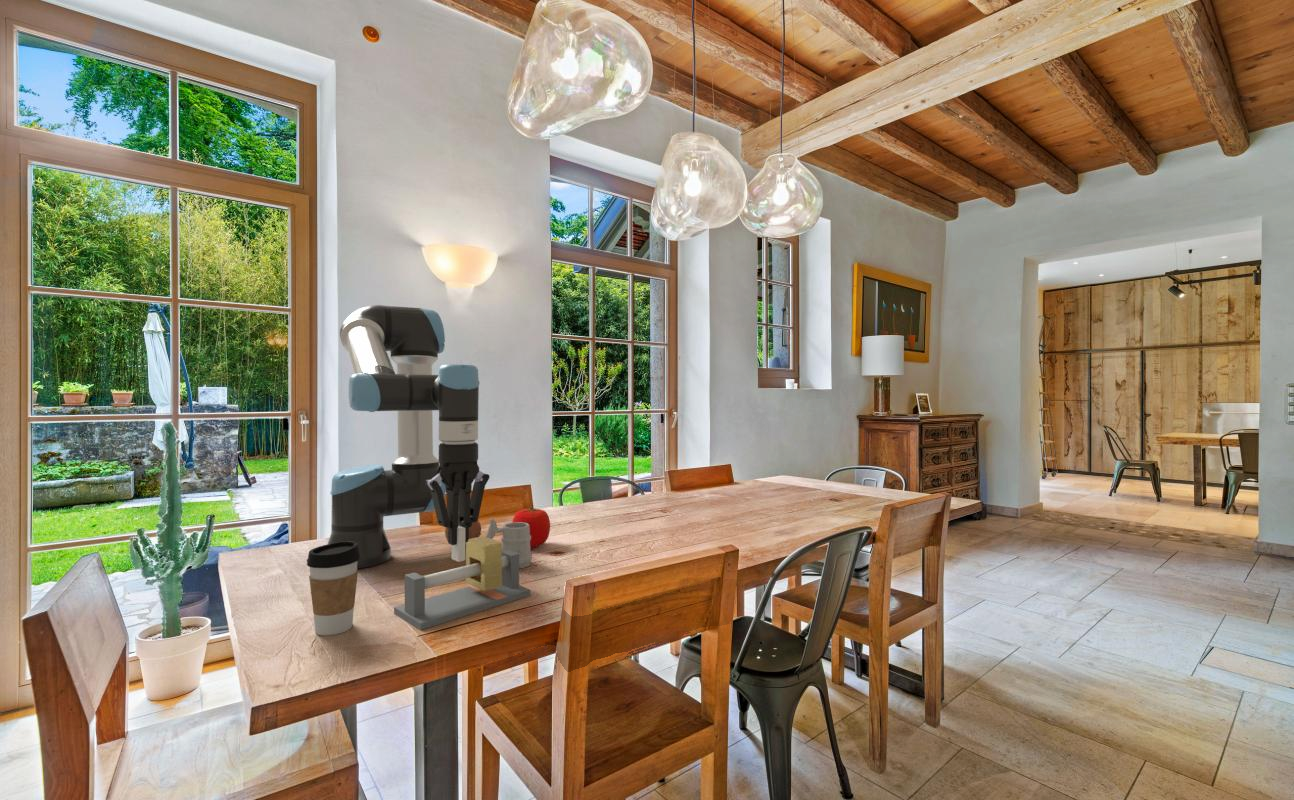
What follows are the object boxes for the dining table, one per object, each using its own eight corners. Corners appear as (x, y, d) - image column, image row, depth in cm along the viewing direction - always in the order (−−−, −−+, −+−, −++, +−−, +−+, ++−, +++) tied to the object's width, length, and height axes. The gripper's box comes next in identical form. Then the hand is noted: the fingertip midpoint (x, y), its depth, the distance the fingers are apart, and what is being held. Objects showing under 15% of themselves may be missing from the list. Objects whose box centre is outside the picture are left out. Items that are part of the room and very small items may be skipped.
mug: (535, 567, 139) (535, 518, 139) (485, 573, 134) (485, 522, 134) (528, 558, 146) (528, 512, 146) (480, 564, 141) (481, 516, 141)
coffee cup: (367, 628, 103) (367, 546, 103) (316, 643, 97) (316, 556, 97) (349, 615, 109) (349, 537, 109) (300, 629, 103) (299, 546, 102)
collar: (465, 582, 119) (466, 539, 119) (483, 578, 122) (483, 536, 122) (484, 591, 114) (484, 546, 114) (501, 586, 117) (502, 542, 117)
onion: (450, 560, 154) (432, 529, 151) (462, 541, 163) (445, 512, 160) (481, 549, 152) (464, 518, 150) (491, 531, 161) (475, 501, 159)
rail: (394, 613, 110) (394, 571, 110) (501, 582, 128) (501, 546, 128) (420, 630, 103) (420, 585, 103) (530, 595, 120) (530, 556, 120)
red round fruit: (512, 542, 161) (512, 504, 161) (549, 540, 163) (550, 503, 163) (510, 552, 151) (510, 512, 151) (550, 551, 153) (550, 511, 153)
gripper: (437, 445, 106) (436, 571, 107) (497, 441, 116) (497, 556, 116) (418, 442, 111) (418, 562, 112) (477, 438, 121) (477, 549, 121)
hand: (458, 559), depth 114 cm, fingers closed
